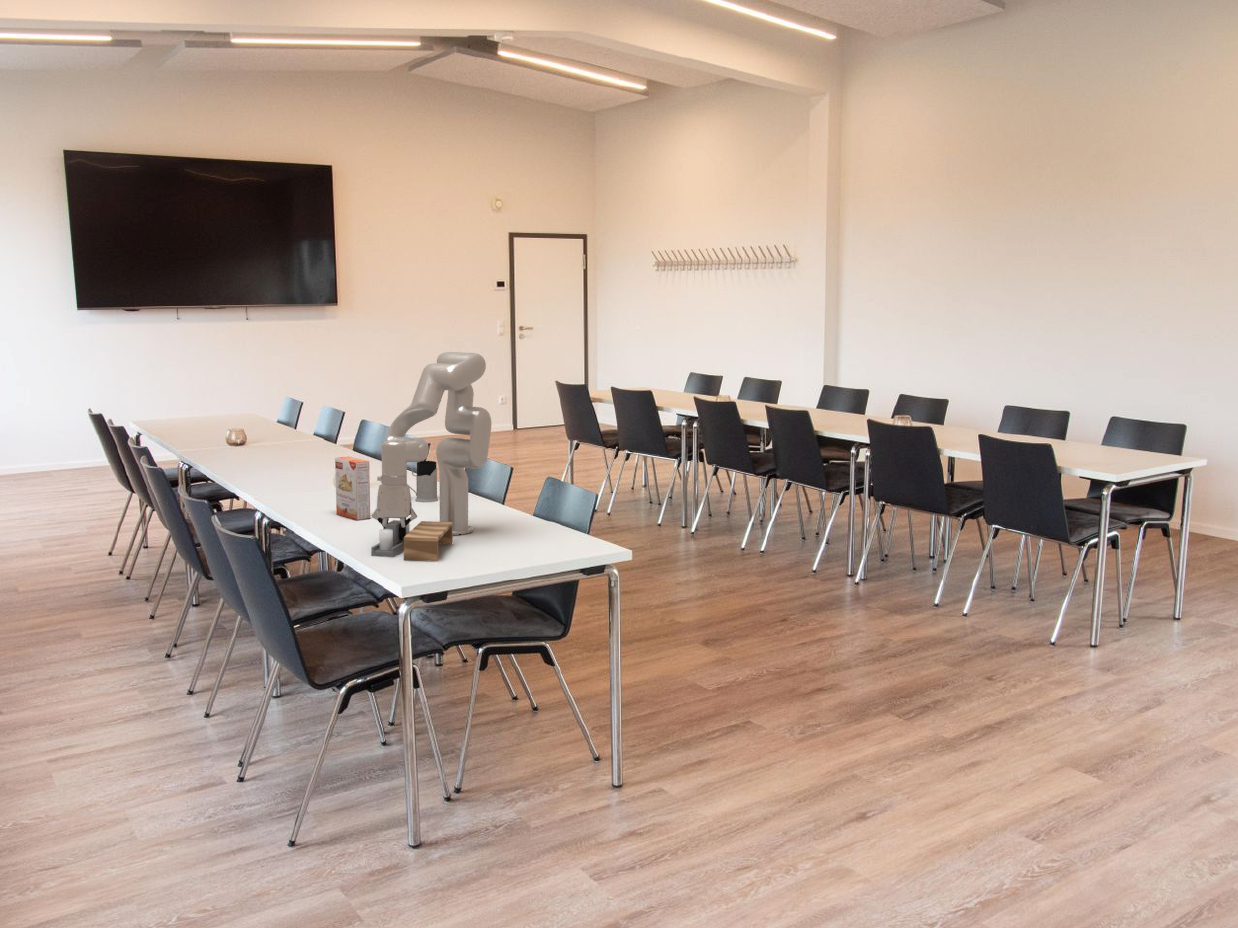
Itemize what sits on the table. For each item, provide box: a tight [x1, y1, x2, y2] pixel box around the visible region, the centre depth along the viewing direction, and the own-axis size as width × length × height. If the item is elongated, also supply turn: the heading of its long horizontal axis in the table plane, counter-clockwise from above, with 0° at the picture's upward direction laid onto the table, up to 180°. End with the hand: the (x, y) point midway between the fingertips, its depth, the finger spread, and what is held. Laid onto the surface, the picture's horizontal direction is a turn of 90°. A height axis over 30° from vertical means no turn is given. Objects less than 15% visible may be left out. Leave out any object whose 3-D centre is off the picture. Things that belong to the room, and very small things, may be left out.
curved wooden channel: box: [403, 520, 454, 562], centre depth 327 cm, size 24×10×7 cm, turn 178°
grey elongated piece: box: [370, 519, 411, 558], centre depth 329 cm, size 20×7×8 cm, turn 170°
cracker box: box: [334, 456, 371, 521], centre depth 377 cm, size 14×6×21 cm, turn 45°
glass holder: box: [407, 460, 439, 503], centre depth 412 cm, size 9×14×15 cm, turn 89°
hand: (394, 538), depth 329 cm, fingers closed on grey elongated piece, 4 cm apart
